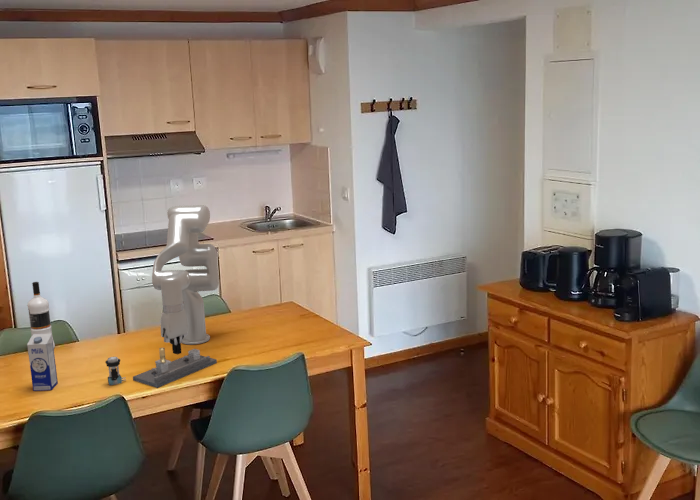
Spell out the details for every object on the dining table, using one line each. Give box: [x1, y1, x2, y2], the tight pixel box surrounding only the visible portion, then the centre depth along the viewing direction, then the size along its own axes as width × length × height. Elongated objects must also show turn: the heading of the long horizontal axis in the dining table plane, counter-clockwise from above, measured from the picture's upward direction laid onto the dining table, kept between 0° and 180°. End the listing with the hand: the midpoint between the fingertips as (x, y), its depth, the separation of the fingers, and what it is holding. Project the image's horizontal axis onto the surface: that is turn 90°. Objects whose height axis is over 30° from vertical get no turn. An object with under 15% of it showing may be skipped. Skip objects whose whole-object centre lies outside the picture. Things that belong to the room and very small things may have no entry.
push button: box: [104, 356, 127, 386], centre depth 281 cm, size 7×5×10 cm
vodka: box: [26, 281, 56, 348], centre depth 319 cm, size 9×9×30 cm
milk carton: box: [26, 333, 59, 392], centre depth 278 cm, size 7×7×20 cm
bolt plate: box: [132, 348, 218, 389], centre depth 291 cm, size 14×30×6 cm, turn 144°
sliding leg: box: [151, 347, 172, 376], centre depth 283 cm, size 9×3×11 cm, turn 54°
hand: (177, 353), depth 288 cm, fingers closed
